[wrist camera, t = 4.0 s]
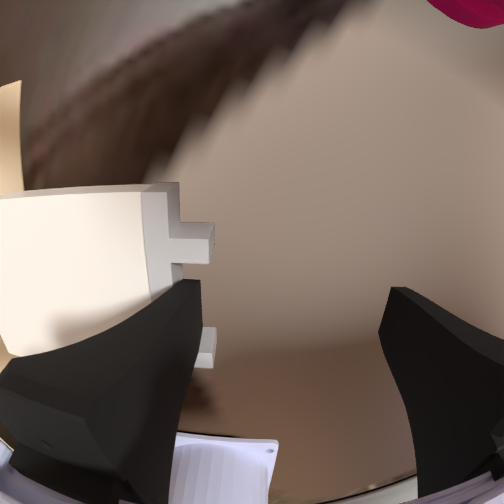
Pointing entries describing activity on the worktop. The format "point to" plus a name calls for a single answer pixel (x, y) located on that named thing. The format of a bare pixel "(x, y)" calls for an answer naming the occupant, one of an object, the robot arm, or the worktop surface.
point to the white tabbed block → (92, 261)
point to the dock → (10, 160)
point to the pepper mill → (473, 11)
